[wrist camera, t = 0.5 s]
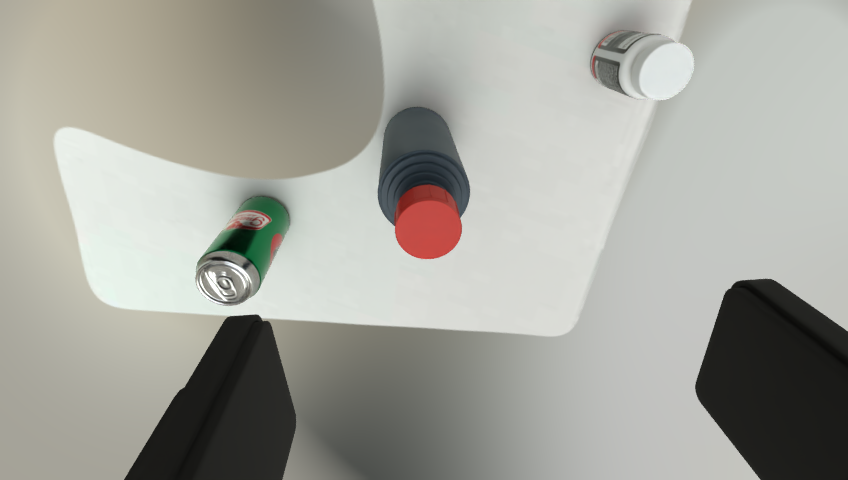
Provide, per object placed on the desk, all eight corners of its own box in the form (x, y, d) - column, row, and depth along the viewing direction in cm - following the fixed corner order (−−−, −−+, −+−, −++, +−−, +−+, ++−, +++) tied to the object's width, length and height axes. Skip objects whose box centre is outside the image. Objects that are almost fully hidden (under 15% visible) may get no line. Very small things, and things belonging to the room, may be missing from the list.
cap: (387, 230, 28) (386, 249, 25) (407, 176, 26) (408, 191, 24) (443, 246, 28) (447, 266, 26) (466, 195, 27) (472, 212, 24)
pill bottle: (626, 93, 40) (677, 114, 32) (580, 78, 39) (622, 96, 32) (652, 39, 37) (713, 48, 30) (605, 22, 37) (656, 28, 29)
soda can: (281, 189, 43) (242, 251, 32) (297, 233, 45) (266, 303, 35) (232, 199, 43) (178, 263, 32) (251, 242, 45) (206, 314, 35)
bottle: (375, 160, 42) (361, 255, 26) (396, 96, 39) (393, 161, 23) (436, 180, 43) (457, 282, 27) (460, 120, 40) (499, 196, 25)
